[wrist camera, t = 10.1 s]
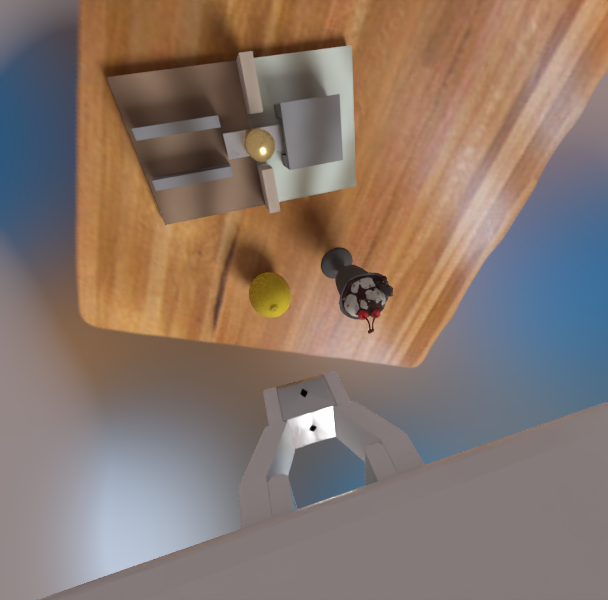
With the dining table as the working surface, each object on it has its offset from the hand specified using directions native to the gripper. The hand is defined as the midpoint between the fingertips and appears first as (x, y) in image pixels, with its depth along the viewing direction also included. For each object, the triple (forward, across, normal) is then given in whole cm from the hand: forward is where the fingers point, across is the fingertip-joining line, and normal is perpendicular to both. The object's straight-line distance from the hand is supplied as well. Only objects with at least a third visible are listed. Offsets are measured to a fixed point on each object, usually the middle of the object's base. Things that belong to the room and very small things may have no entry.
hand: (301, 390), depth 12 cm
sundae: (+30, -12, +11) cm, 34 cm away
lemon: (+30, -1, +11) cm, 32 cm away
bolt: (+29, -6, -7) cm, 30 cm away
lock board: (+30, -2, -7) cm, 31 cm away
